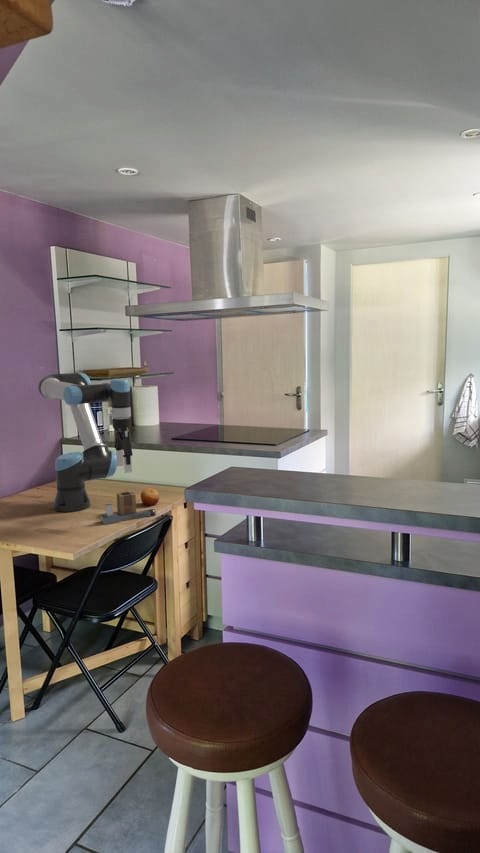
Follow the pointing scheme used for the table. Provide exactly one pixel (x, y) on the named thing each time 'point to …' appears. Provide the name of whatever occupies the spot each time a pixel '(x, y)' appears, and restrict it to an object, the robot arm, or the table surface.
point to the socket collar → (126, 502)
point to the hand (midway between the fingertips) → (124, 469)
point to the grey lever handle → (124, 515)
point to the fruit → (149, 496)
